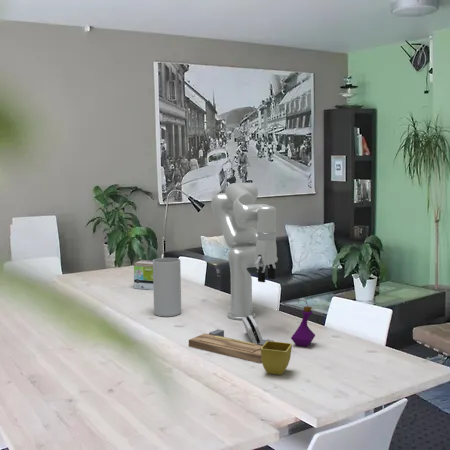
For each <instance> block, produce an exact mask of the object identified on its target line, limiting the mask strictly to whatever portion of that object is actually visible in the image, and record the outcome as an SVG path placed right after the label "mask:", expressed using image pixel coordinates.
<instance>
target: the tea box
mask: <svg viewBox="0 0 450 450" xmlns="http://www.w3.org/2000/svg"><path fill="white" fill-rule="evenodd" d="M133 286H134V287H133V288H134V289H135V290H137V289H141V290H152V291H154V287H153V260H146V259H141V260H139V261H136V262H134V263H133Z"/></svg>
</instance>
